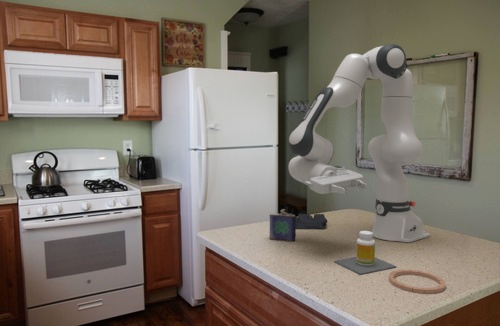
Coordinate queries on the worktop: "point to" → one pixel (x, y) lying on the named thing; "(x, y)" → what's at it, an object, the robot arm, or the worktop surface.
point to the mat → (360, 269)
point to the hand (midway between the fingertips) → (355, 189)
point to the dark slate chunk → (311, 222)
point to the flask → (283, 226)
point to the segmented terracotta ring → (417, 289)
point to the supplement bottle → (365, 249)
